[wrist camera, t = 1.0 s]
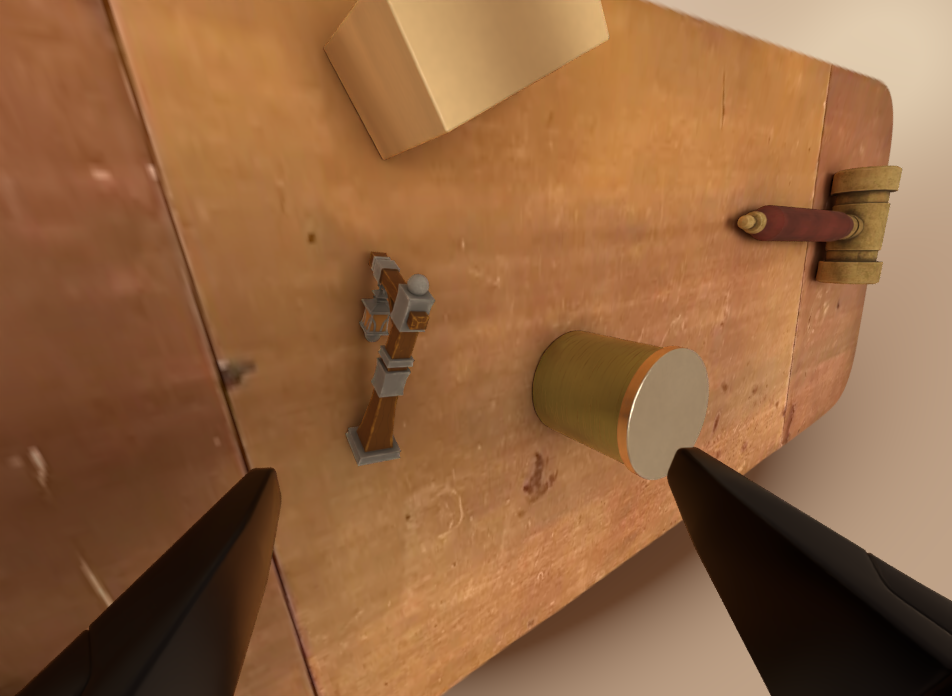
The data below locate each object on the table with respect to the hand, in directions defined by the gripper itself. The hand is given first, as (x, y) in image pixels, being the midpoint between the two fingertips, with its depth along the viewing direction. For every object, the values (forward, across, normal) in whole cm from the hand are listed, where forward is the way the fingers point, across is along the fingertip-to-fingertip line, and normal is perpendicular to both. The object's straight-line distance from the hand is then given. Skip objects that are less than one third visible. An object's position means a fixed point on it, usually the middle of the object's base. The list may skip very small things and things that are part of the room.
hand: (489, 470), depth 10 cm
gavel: (+26, -31, +1) cm, 41 cm away
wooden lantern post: (+9, +4, +3) cm, 10 cm away
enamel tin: (+13, -8, +7) cm, 17 cm away
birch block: (+14, +1, -8) cm, 16 cm away
